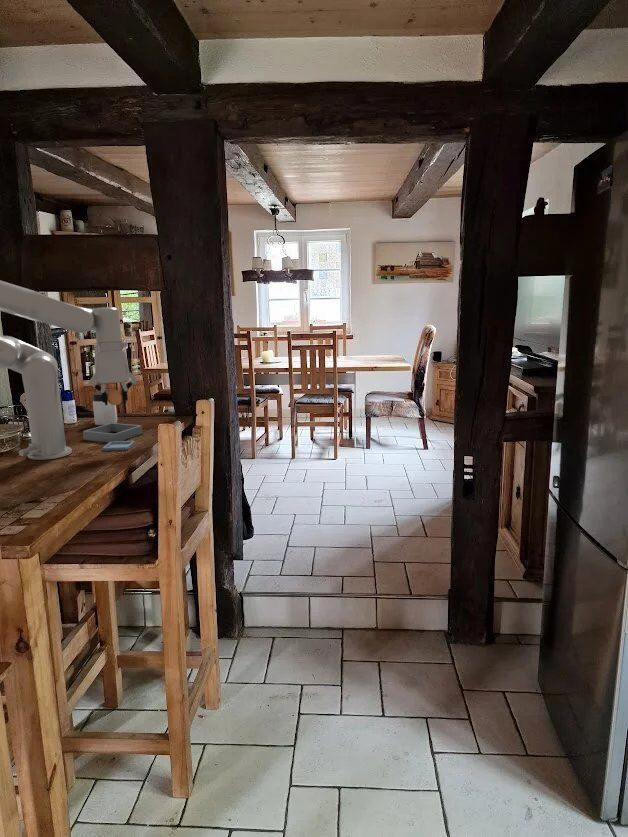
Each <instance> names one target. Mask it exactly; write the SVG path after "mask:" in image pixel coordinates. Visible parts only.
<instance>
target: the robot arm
mask: <svg viewBox="0 0 628 837" xmlns="http://www.w3.org/2000/svg"><path fill="white" fill-rule="evenodd" d="M0 312H4V313H7V314H11V315H13V316H17V317H21V318H24V319H27V320H31V321H33V322H38V323H39V322H40V323H44V324H47V325H50V326H54V327H57V328H59V329H64V330H67V331H71V332H74V333H78V334H85V333H87V332H89V331H94V332H95V340H96V341H95V342H96V349H97V350H96V351H95V352H94V374H93V375H92V377H91V378H90V380H89V381H88V384H89V386H91V387H93V388H95V389H96V390H98V392H101V393H102V402H103V403H104V402H105V405H108V403H107V393H106V387H107V384H108V385H109V384H117V383H118V384H119V383H120V384H121V387H122V390H121V393H122V395H123V400H122V403H123V404H126V403H127V401H129V399H128V398H129V397H128V390H129V389H131V387H132V386H133V384H135V383H136V382H137V381H138V379H137V377H136V376H135V375H133V373H132V372H131V371H130V369H129V362H128V357H127V353H126V351H125V350H123V349H124V348H127V347H128V344H127V342H123V341H122V331H121V319H120V312H119V310H118V308H116V307H114V306H113V307H112V306H111V307H107V306H106V307H103V306H102V307H96V308H91V307H90V308H89V307H82V306H78V305H74V304H71V303H67V302H64V301H61V300H58V299H55V298H52V297H49V296H46V295H45V294H43V293H41V292H38V291H35V290H32V289H30V288H26V287H22V286H20V285H16V284H13V283H11V282H10V283H9V282H7V281H3V280H0ZM1 369H2V370H8V369H10V370H11V371H14V372H16V373H19V374H21V377H22V383H23V388H24V393H25V394H24V395H25V402H26V409H27V416H28V424H29V425H28V426H29V431H30V440H31V442H30V443H28V447H26V448H23V449H19V451H18V455H19V456H20V457H24V456H27V458H28V459H30V460H36V461H37V460H38V461H45V460H54V459H60V458H63V457H66V456H69V455H70V454H72V453H73V451H72V450H73V449H72V448H71V447H70V446H67V445H66V444H67V443H66V435H65V428H64V427H65V426H64V418H63V411H62V401H61V400H62V399H61V393H60V384H59V374H58V373H59V372H58V371H59V370H58V369H59V366H58V361H57V360H56V358H55V357H54V356H53V355H52V354H50V353H48V352H46V351H44V350H42V349H40V348H38V347H35V346H34V345H32V344H29V343H26V342H25V341H22V340H20V339H18V338H15V337H13V336H11V335H10V336H9V335H0V370H1ZM95 381H96V382H97V383H96V382H95ZM99 384H100V385H99Z"/></svg>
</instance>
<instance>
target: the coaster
mask: <svg viewBox="0 0 628 837" xmlns="http://www.w3.org/2000/svg"><path fill="white" fill-rule="evenodd" d="M135 442H136V441H135V440H126V441H125V440H123V441H115V442H107V443H106V444H105V445H104V446H103V447H102V452H107V451H108V452H113V451H115V452H117V451H129V450H130V449H131V448H132V447H133V446H134V445H135V444H136V443H135Z"/></svg>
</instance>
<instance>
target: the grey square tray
mask: <svg viewBox="0 0 628 837" xmlns="http://www.w3.org/2000/svg"><path fill="white" fill-rule="evenodd" d="M113 432H116V433H113ZM143 433H144V430H143V425H141V424H129V423H118V422H117V423H109V424H106V425H98V426H97V427H96V426H95V427H93V428H89V429H85V430H83V431H82V436H83V440H85V441H92V442H102V443H103V442H104V443H109V442H115V441H125V440H126V441H127V440H128V439H129V440H130V439H131V438H135V437H137V436H140V435H143Z"/></svg>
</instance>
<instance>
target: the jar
mask: <svg viewBox="0 0 628 837" xmlns="http://www.w3.org/2000/svg"><path fill="white" fill-rule="evenodd" d="M105 391H106V390H105ZM110 391H111V390H110ZM110 391H109V390H108V391H106V393H107V394H108V392H110ZM91 396H92V407H93V416H94V418H93V419H94V425H95V426H102V425H106V424H109V423H118V413H117V411H118V410H117V405H111V404H110V403H109V402H108V401H107V403H108V405H105V402H104V403H103V402H102V393H101V392H100V391H97V392H93V393H92V394H91Z"/></svg>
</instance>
